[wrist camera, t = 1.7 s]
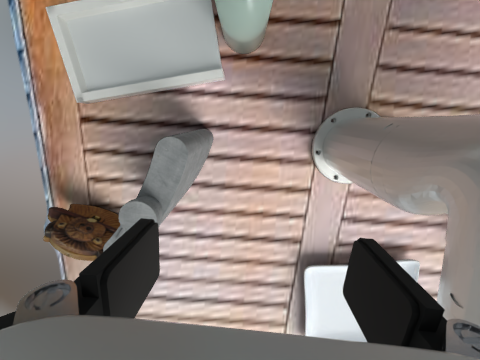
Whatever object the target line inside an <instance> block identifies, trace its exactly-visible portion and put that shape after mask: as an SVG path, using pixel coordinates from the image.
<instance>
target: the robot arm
mask: <svg viewBox="0 0 480 360" xmlns="http://www.w3.org/2000/svg"><path fill="white" fill-rule="evenodd" d="M366 114H367V116H366ZM331 119H333V122H331ZM316 151H318V152H317V153H316ZM312 157H313V161H314V163H315V166H316V167H317V169H318V170H319V171H320V173H322V174H323V175H324V176H325V177H327V178H328V179H330V180H332V181H334V182H337V183H342V184H351V183H355V184H356V185H358V186H360V187H362V188H363V189H365V190H367V191H368V192H370V193H372V194H374V195H375V196H377V197H379V198H380V199H382V200H384V201H386V202H387V203H389V204H391V205H393V206H395V207H396V208H399V209H401V210H403V211H406V212H409V213H412V214H418V215H442V214H448V224H447V231H446V237H445V239H446V246H445V252H444V259H443V265H442V271H441V277H440V284H439V290H438V298H437V301H436V300H435V299H433V298H432V297H431V296H430V295H429V294H428V293H427V292H426V291H425V290H424V289H423V288H422V287H421V286H420V285H419V284H418V283H417V282H416V281H415V280H414V279H413V278H412V277H411V276H410V275H409V274H408V273H407V272H406V271H405V270H404V269H403V268H402V267H401V266H400V265H399V264H398V263H397V262H396V261H395V260H394V259H393V258H392V257H391V256H390V255H389V254H388V253H387V252H386V251H385V250H384V249H383V248H382V247H381V246H380V245H379V244H378V243H377V242H376V241H375V240H373V239H365V238H359V239H358V240H357V241H355V242H354V244H353V248H352V252H351V256H350V260H349V264H348V268H347V272H346V277H345V281H344V285H343V296H344V298H345V300H346V302H347V304H348V306H349V308H350V310H351V311H352V313H353V315H354V317H355V319H356V321H357V323H358V325H359V327H360V329H361V331H362V333H363V335H364V337H365V338H366V340H367V342H359V341H350V340H341V339H331V338H322V337H312V336H302V335H293V334H283V333H273V332H264V331H254V330H245V329H235V328H225V327H216V326H206V325H197V324H186V323H176V322H166V321H156V320H146V319H135V316H136V314H137V313H138V311H139V309H140V308H141V306H142V304H143V302H144V301H145V299H146V297H147V296H148V294H149V292H150V291H151V289H152V287H153V285H154V284H155V282H156V280H157V279H158V276H159V272H160V265H159V232H158V223H155V221H154V219H144V218H141V219H140V220H138V221H137V222H136V223H135V224H134V225H133V226H132V227H131V228H130V229H128V230H127V231H126V232H125V233H124V234H123V235H122V236H121V237H120V238H118V239H117V240H116V241H115V242H114V243H113V244H112V245H111V246H110V247H108V248H107V249H106V250H105V251H104V252H103V253H102V254H101V255H100V256H98V257H97V258H96V259H95V260H94V261H93V262H92V263H91V264H90V265H88V266H87V267H86V268H85V269H84V270H83V271H82V272H81V273H80V274H79V275H80V276H79V277H78V278H77V279H76V280H75V281H74V282H73V281H71V280H56V281H51V282H48V283H45V284H43V285H40V286H38V287H36V288H34V289H33V290H31V291H30V292H28V293H27V294H26V295H24V297H23V298H22V299H21V300H20V301H19V303H18V305H17V309H16V311H15V312H12V313H10V314H7V315H4V316H2V317H0V360H480V114H475V115H459V116H429V117H380V116H379V115H378V114H376V113H375V112H373V111H371V110H368V109H365V108H347V109H343V110H340V111H338V112H336V113H334V114H332V115H330V116H329V117H328V118H327V119H326V120H324V122H323V123H322V124H321V125H320V126H319V128H318V130H317V131H316V133H315V136H314V139H313V143H312ZM334 175H335V177H334Z"/></svg>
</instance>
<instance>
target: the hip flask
mask: <svg viewBox="0 0 480 360" xmlns="http://www.w3.org/2000/svg"><path fill="white" fill-rule="evenodd" d="M212 143H213V135H212V133H211V132H210V131H209V130H207V129H199V130H195V131H191V132H186V133H182V134H177V135H173V136H168V137H165V138H162V139H161V140H160V141H159V142H158V143H157V145H156V147H155V151H154V155H153V158H152V162H151V165H150V168H149V171H148V173H147V176H146V178H145V181H144V183H143V186H142V188H141V190H140V192H139V194H138V196H137V198H136V199H134V200H131V201H129V202H128V203H126V204H125V205H123V207H122V208H121V210H120V211H119V222H120V226H119V228H118V229H117V230H116V232H115V233H114V234H113V235H112V237H111V238H110V239H109V240H108V241H107V242H106V243H105V245H104V247H103V252H104V251H105V250H106V249H107V248H108V247H110V246H111V245H112V244H113V243H114V242H115V241H116V240H117V239H118V238H120V237H121V236H122V235H123V234H124V233H125V232H126V231H127V230H128V229H130V228H131V227H132V226H133V225H134V224H135V223H136V222H137V221H138V220H140V219H141V218H144V219H154V221H155V223H158V227H159V226H160V224H161V223H162V222H163V221H164V219H165V218H166V217H167V216H168V214H169V213H170V212H171V211H172V209H173V208H174V207H175V206H176V204H177V203H178V202H179V201H180V199H181V198H182V197H183V196H184V194H185V193H186V192H187V191H188V189H189V188H190V186H191V185H192V183H193V182H194V180H195V179H196V177H197V176H198V174H199V172H200V170H201V168H202V167H203V165H204V163H205V160H206V158H207V156H208V154H209V151H210V148H211V146H212Z"/></svg>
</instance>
